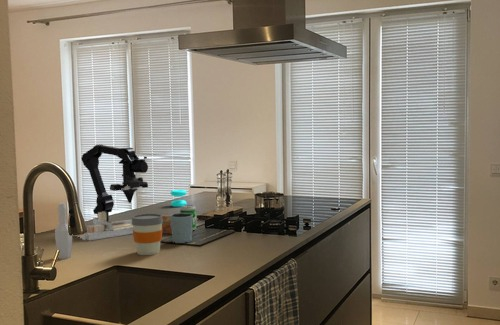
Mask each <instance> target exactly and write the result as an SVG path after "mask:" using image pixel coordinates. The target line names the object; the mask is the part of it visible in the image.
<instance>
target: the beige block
mask: <svg viewBox="0 0 500 325" xmlns="http://www.w3.org/2000/svg"><path fill="white" fill-rule="evenodd" d="M93 225H94V224H93ZM101 231H104V225H101V224H98V225H94V232H101Z"/></svg>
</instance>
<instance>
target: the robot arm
mask: <svg viewBox="0 0 500 325" xmlns="http://www.w3.org/2000/svg"><path fill="white" fill-rule="evenodd" d="M102 154H105V155H106V154H107V155H111V156H115V157H118V158H119V159H121V160H120V161H118V164H121V165H122V174H121V177H122V179H123V180H122V183H112V184H110V186H109V190H110V191H114V192H117V191H122V192H123V194H124V196H125V198H126V200H127V202H128V203H129V204H130V203H131V202H132V201H133V197H134V194H135V193H136V192H137V191H138V190H139V189H138V188H140V187H141V188H143V189H145V188H149V184H148V182H147V181H144V178H143V177H137V175H136V174H135V173H138V174H140V173H142V174H145V173H147V172H148V168H149V165H148V163H147V162H146V159H145V158H143V159H140V157H139V156H138V155H137V153H136V151H135V148H133V147H115V146H111V145H110V146H109V145H104V144H95V145H94V146H93V147H92V148H90V149H89V150H87V151H86V152H84V153H83V154H82V156H81V162H82V163H83V166H84V167H85V168H86V169H87V170H88V172H89V175H90V178H91V180H92V184H93V187H94V189H95V192H96V195H97V196H96V200H95V201H96V206H95V207H94V208H93V210H92V212H93V214H94V215H97V217H98V212H106V217H107V220H106V221H108V222H110V217H109V213H112V211H113V208H114V206H115V203H114V202H115V200H114V199H113V195H112V194H109V193H108V192H107V190H106V187H105V184H104V181H103V178H102V175H101V172H100V169H99V165H100V159H99V158H101V156H102Z"/></svg>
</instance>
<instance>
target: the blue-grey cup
mask: <svg viewBox="0 0 500 325" xmlns="http://www.w3.org/2000/svg"><path fill="white" fill-rule="evenodd" d="M169 216H170V219H171V228H172V234H171V235H172V238H171V239H172V240H171V241H172V243H174V242H175V243H174V244H186V243H185V242H188V243H190V241H191V242H192V239H193V238H192V236H193V231H192V220H193V214H191V213H180V212H175V213H172V214H170V215H169Z"/></svg>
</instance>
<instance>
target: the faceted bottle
mask: <svg viewBox="0 0 500 325" xmlns="http://www.w3.org/2000/svg"><path fill="white" fill-rule="evenodd" d="M67 212H68V208H67V205H66V202H60V203H58V206H57V214H58V225H57V226H56V228H55V229H54V238H55V245H56V251H57V250H60V254H59V257H58V259H59V260H65V259H71V258H72V249H73V248H72V247H73V235H72V236H70V235H69V233H68V225H69V224H68V220H67V219H68V217H67Z"/></svg>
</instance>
